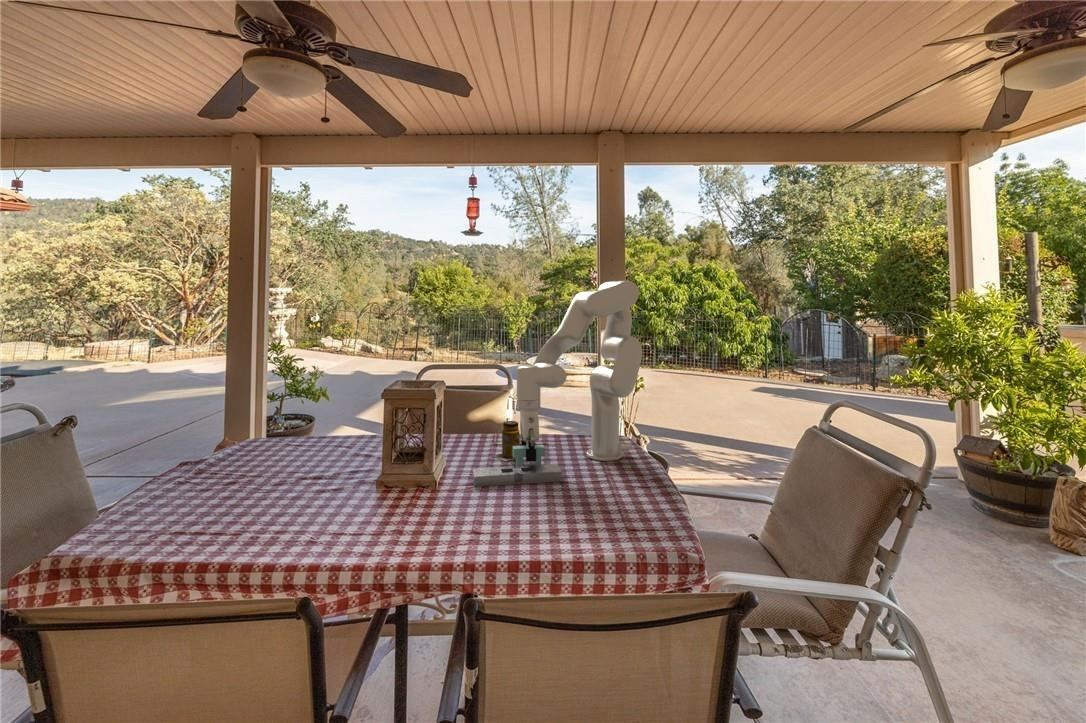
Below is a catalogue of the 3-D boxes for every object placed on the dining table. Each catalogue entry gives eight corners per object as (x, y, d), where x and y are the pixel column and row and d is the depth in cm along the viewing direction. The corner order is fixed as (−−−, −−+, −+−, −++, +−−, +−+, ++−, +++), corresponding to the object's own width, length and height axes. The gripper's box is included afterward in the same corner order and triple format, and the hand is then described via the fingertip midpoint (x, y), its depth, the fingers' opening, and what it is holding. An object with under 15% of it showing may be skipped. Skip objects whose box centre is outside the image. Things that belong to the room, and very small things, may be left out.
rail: (557, 473, 155) (557, 463, 154) (561, 481, 148) (562, 471, 147) (473, 478, 150) (472, 468, 150) (474, 486, 143) (473, 476, 143)
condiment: (524, 456, 172) (524, 422, 170) (505, 461, 166) (505, 426, 164) (511, 451, 177) (511, 418, 175) (492, 456, 171) (492, 422, 170)
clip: (543, 465, 162) (543, 444, 161) (544, 468, 159) (544, 447, 158) (512, 467, 160) (512, 446, 159) (513, 470, 157) (513, 448, 156)
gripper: (545, 409, 149) (545, 464, 151) (535, 398, 166) (535, 448, 168) (520, 410, 148) (520, 465, 150) (513, 399, 165) (513, 449, 167)
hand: (528, 456), depth 159 cm, fingers open, 9 cm apart
